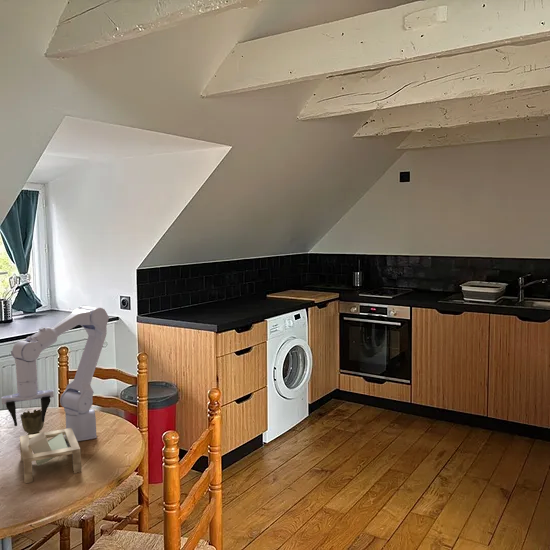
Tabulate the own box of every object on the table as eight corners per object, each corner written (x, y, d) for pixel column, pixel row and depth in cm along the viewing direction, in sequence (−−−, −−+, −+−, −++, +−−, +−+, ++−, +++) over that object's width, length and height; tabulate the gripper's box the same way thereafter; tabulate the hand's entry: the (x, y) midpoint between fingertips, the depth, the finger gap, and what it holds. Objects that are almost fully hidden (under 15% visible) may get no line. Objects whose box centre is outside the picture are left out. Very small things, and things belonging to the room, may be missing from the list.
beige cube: (49, 444, 170) (43, 432, 169) (51, 450, 166) (45, 437, 165) (34, 452, 168) (28, 439, 167) (36, 458, 164) (29, 445, 163)
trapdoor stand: (72, 449, 180) (71, 427, 179) (81, 471, 164) (80, 448, 164) (20, 458, 173) (19, 436, 173) (24, 483, 157) (23, 459, 157)
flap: (67, 440, 176) (63, 432, 176) (73, 455, 166) (68, 446, 165) (37, 456, 173) (32, 447, 172) (41, 472, 162) (36, 463, 161)
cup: (22, 442, 186) (21, 418, 185) (21, 434, 192) (19, 411, 191) (46, 437, 189) (45, 414, 188) (44, 430, 196) (43, 408, 195)
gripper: (1, 386, 166) (3, 431, 168) (53, 380, 173) (56, 423, 174) (0, 380, 172) (3, 423, 174) (51, 374, 179) (53, 415, 180)
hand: (29, 423), depth 174 cm, fingers open, 7 cm apart
